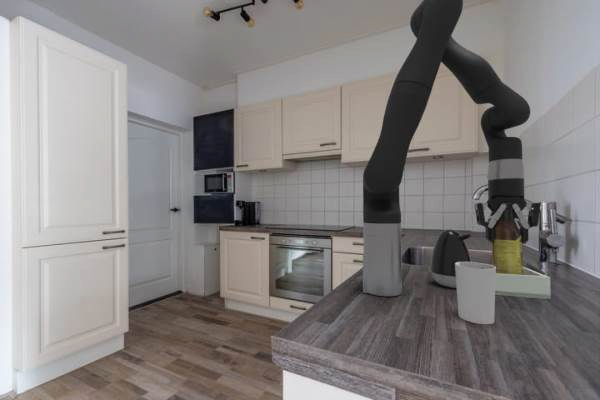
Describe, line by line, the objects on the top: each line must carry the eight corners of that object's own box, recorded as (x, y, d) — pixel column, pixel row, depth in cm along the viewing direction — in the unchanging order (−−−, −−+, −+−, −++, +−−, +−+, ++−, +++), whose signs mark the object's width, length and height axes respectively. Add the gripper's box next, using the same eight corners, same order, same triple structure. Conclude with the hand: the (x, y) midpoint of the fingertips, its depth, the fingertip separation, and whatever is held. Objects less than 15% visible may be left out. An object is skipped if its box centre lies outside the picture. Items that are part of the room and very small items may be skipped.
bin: (490, 294, 65) (489, 273, 65) (473, 281, 77) (473, 263, 77) (550, 299, 62) (550, 277, 62) (524, 285, 73) (523, 266, 73)
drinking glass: (471, 309, 56) (470, 260, 56) (506, 322, 49) (504, 267, 50) (447, 313, 53) (447, 263, 54) (480, 327, 47) (479, 270, 47)
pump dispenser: (460, 293, 66) (458, 231, 67) (422, 283, 75) (421, 228, 76) (482, 287, 71) (481, 229, 72) (444, 278, 80) (443, 227, 81)
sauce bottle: (529, 284, 66) (527, 203, 66) (500, 283, 67) (498, 203, 67) (513, 277, 72) (512, 203, 73) (487, 276, 73) (486, 203, 74)
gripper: (478, 177, 69) (479, 243, 68) (547, 175, 65) (549, 246, 64) (469, 180, 76) (470, 240, 75) (531, 179, 72) (532, 242, 71)
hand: (506, 242), depth 70 cm, fingers closed on sauce bottle, 6 cm apart
